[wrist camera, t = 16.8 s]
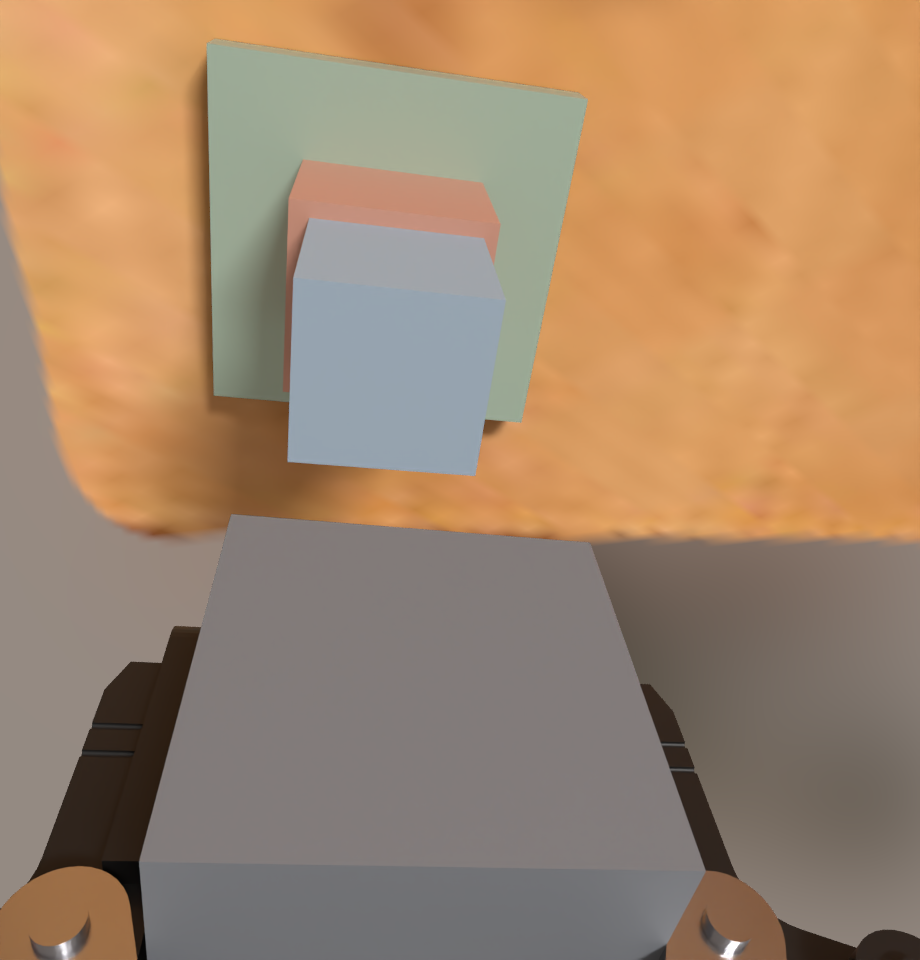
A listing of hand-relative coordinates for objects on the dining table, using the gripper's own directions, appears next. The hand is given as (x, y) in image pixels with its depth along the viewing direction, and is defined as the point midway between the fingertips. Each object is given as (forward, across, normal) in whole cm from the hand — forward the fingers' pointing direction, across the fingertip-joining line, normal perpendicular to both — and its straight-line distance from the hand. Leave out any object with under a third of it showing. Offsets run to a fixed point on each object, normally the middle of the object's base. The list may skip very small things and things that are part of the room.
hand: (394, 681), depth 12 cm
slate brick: (0, 0, 0) cm, 0 cm away
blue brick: (+15, 0, 0) cm, 15 cm away
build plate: (+21, 0, 0) cm, 21 cm away
